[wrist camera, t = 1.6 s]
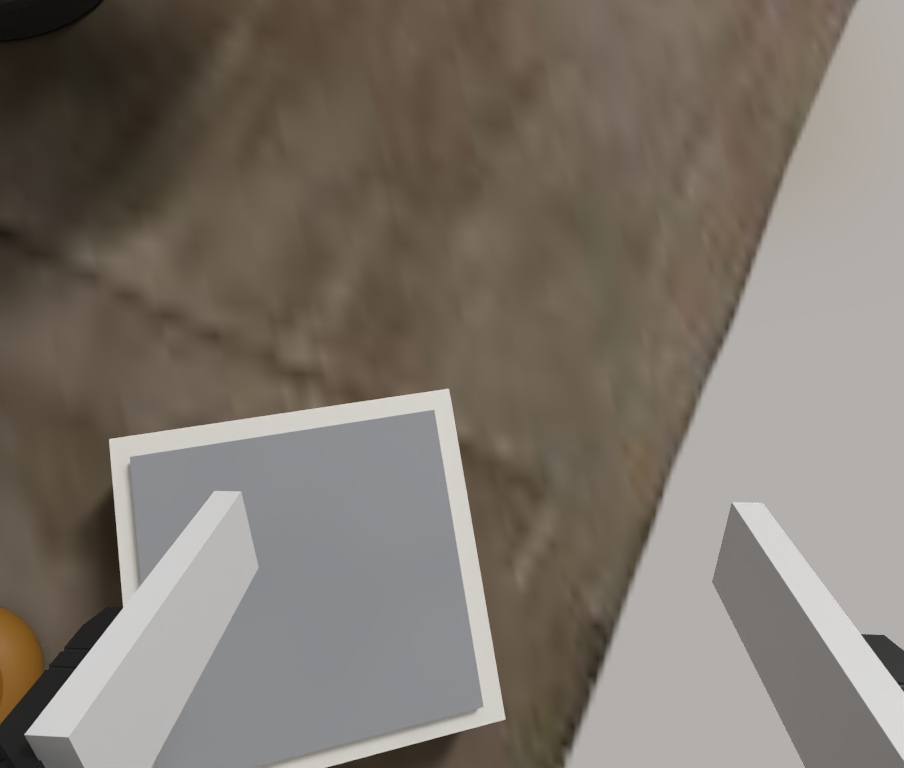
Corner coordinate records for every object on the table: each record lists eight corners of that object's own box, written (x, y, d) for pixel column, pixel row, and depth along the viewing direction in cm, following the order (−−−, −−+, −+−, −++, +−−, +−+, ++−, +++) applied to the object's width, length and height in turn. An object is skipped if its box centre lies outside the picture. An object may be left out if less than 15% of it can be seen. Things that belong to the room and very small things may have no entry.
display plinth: (148, 443, 29) (103, 438, 24) (437, 399, 32) (450, 387, 27) (178, 759, 27) (135, 825, 22) (484, 682, 29) (508, 724, 25)
